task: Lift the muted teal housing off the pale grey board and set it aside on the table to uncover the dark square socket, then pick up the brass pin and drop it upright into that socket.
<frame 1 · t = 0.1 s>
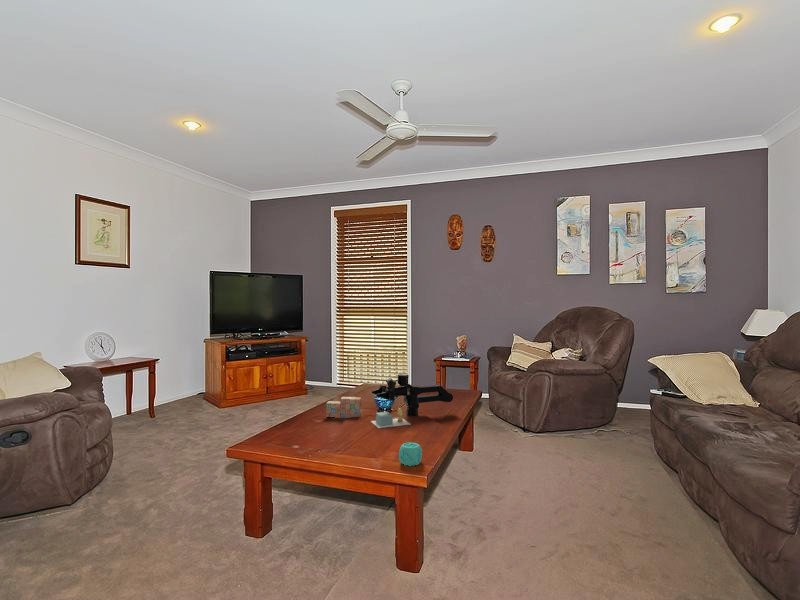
hand: (373, 393, 264), 17 cm above the table, tool horizontal, fingers open, 9 cm apart
housing: (384, 423, 254), point 1 cm above the table, touching board
pin: (400, 421, 258), point 1 cm above the table, touching board
decorative dice: (410, 463, 196), on the table
board: (390, 425, 255), on the table
stack of blocks: (343, 417, 274), on the table
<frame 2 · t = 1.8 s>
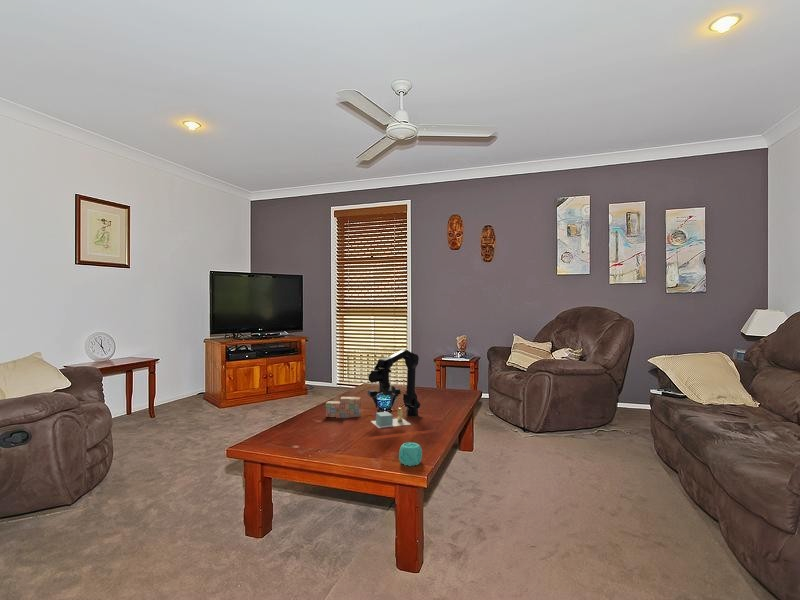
hand: (384, 407, 254), 11 cm above the table, tool pointing down, fingers open, 9 cm apart
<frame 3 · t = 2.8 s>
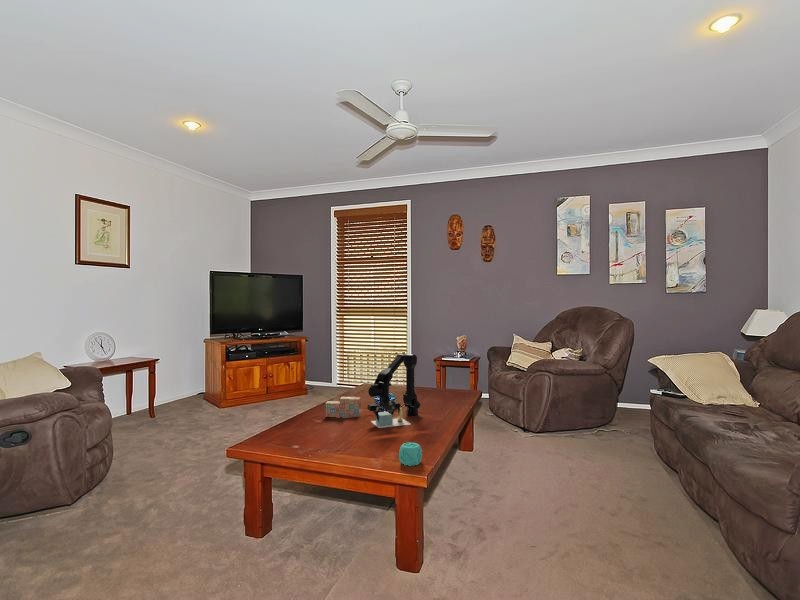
hand: (384, 421, 254), 3 cm above the table, tool pointing down, fingers closed on housing, 7 cm apart
housing: (384, 423, 254), point 1 cm above the table, touching board, gripper
everything else where it was.
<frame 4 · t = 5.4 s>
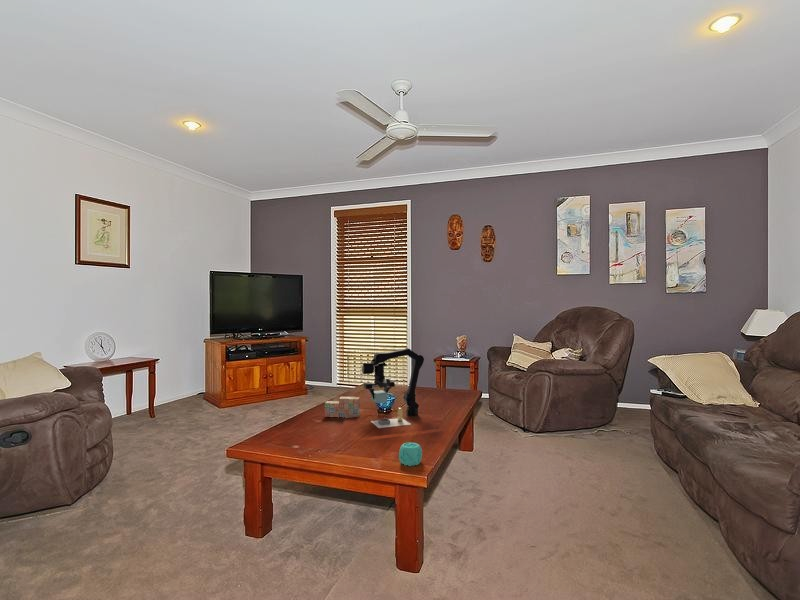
hand: (379, 398, 268), 13 cm above the table, tool pointing down, fingers closed on housing, 7 cm apart
housing: (379, 401, 268), point 11 cm above the table, touching gripper
when the fingers open (3 cm above the table, at t = 8.1 s): housing drops 1 cm, on the table.
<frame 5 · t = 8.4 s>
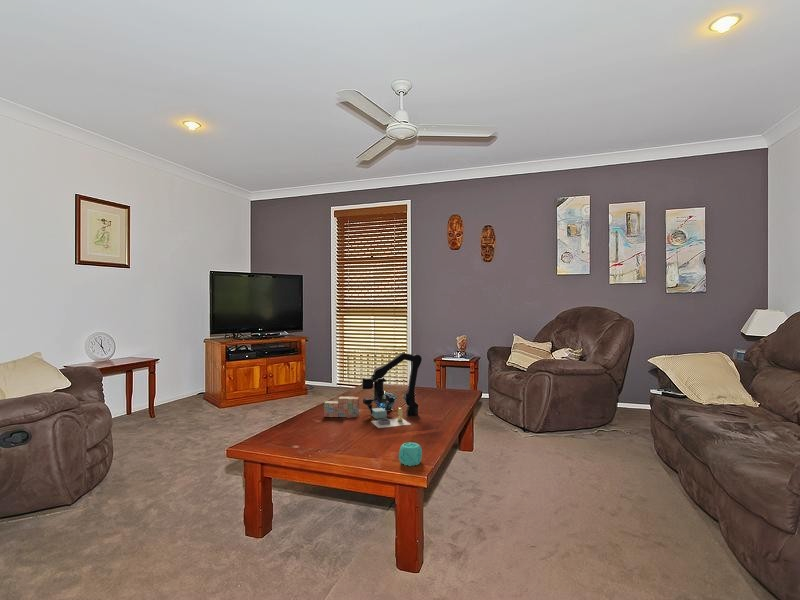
hand: (378, 414, 270), 3 cm above the table, tool pointing down, fingers open, 9 cm apart
housing: (378, 418, 270), on the table
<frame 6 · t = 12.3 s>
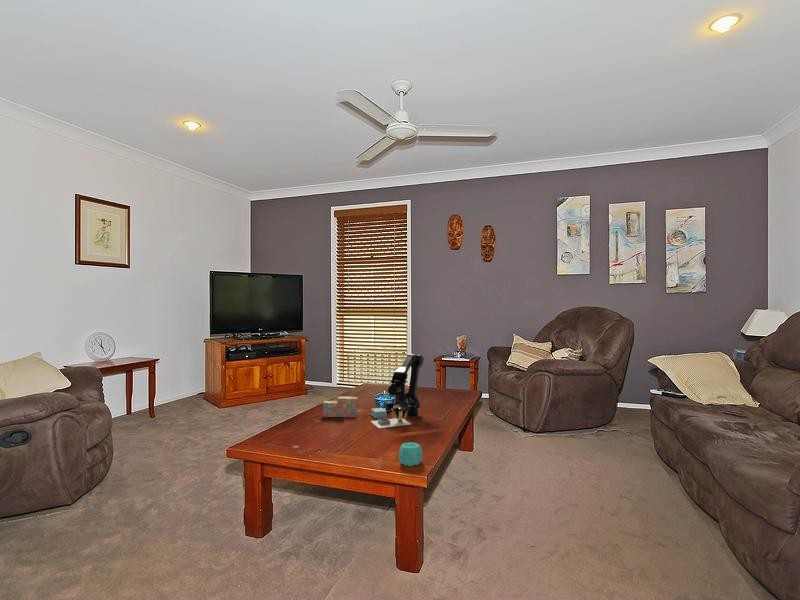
hand: (400, 418, 258), 3 cm above the table, tool pointing down, fingers closed on pin, 3 cm apart
pin: (400, 421, 258), point 2 cm above the table, touching board, gripper
when the fingers open (6 cm above the table, at t = 16.4 s): pin drops 2 cm, resting on board.
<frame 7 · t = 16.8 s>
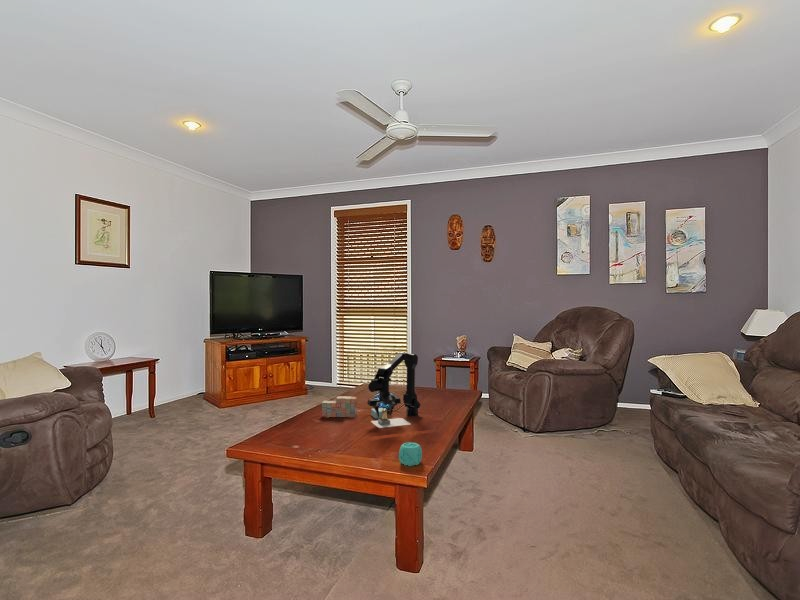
hand: (384, 416, 254), 6 cm above the table, tool pointing down, fingers open, 7 cm apart
pin: (384, 423, 254), point 2 cm above the table, touching board
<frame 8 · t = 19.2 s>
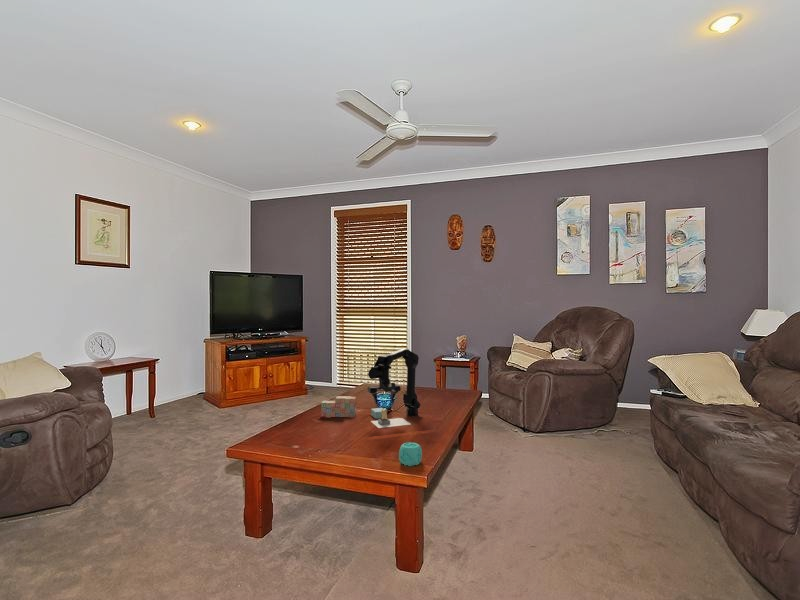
hand: (384, 403, 254), 13 cm above the table, tool pointing down, fingers open, 9 cm apart
at the end: pin 0.0 cm from the target spot on the board, point 1.5 cm above the board's base; pin tilted 1°; housing moved 16.2 cm from its start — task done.
